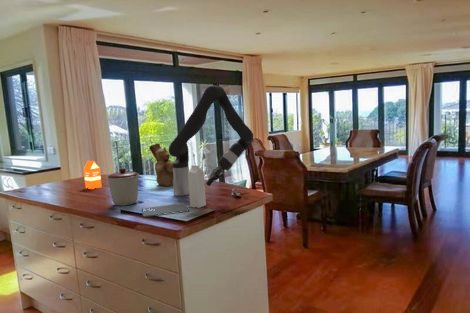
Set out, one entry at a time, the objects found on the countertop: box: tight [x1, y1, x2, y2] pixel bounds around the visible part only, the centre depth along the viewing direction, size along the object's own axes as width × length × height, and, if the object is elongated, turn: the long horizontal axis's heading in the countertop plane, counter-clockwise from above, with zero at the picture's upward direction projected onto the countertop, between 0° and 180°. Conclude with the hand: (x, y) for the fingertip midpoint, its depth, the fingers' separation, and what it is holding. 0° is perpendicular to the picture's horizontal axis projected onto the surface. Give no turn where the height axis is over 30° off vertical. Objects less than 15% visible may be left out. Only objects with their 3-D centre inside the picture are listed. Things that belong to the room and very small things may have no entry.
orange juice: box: [83, 160, 103, 190], centre depth 259 cm, size 8×9×20 cm
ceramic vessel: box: [148, 142, 175, 187], centre depth 255 cm, size 16×22×30 cm
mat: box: [141, 202, 190, 218], centre depth 183 cm, size 23×16×1 cm
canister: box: [105, 167, 140, 207], centre depth 202 cm, size 18×18×21 cm
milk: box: [188, 165, 207, 209], centre depth 187 cm, size 6×6×22 cm
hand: (207, 184), depth 189 cm, fingers closed
